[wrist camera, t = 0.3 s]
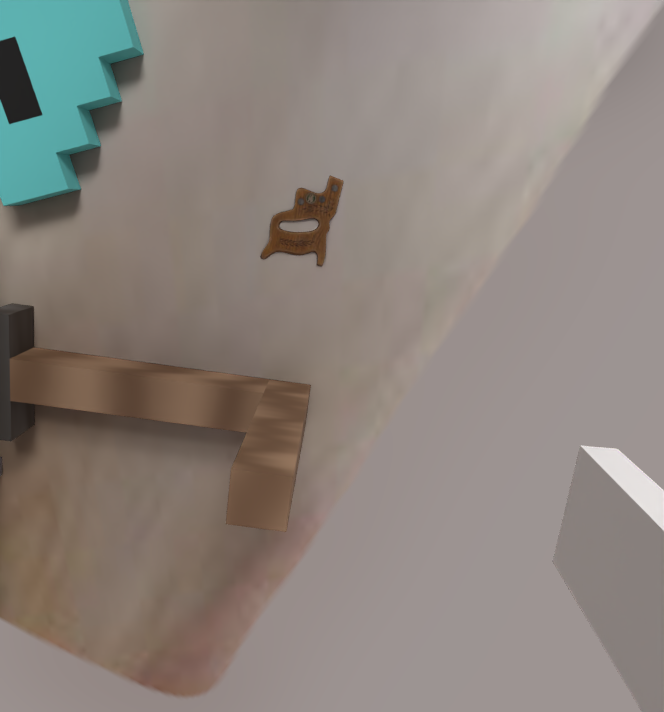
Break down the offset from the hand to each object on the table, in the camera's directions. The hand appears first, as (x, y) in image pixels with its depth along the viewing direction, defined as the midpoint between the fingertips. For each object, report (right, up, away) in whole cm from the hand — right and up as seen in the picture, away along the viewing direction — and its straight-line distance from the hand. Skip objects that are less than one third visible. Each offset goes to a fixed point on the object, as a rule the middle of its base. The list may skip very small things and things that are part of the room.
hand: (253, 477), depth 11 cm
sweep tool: (-11, 0, +29) cm, 31 cm away
